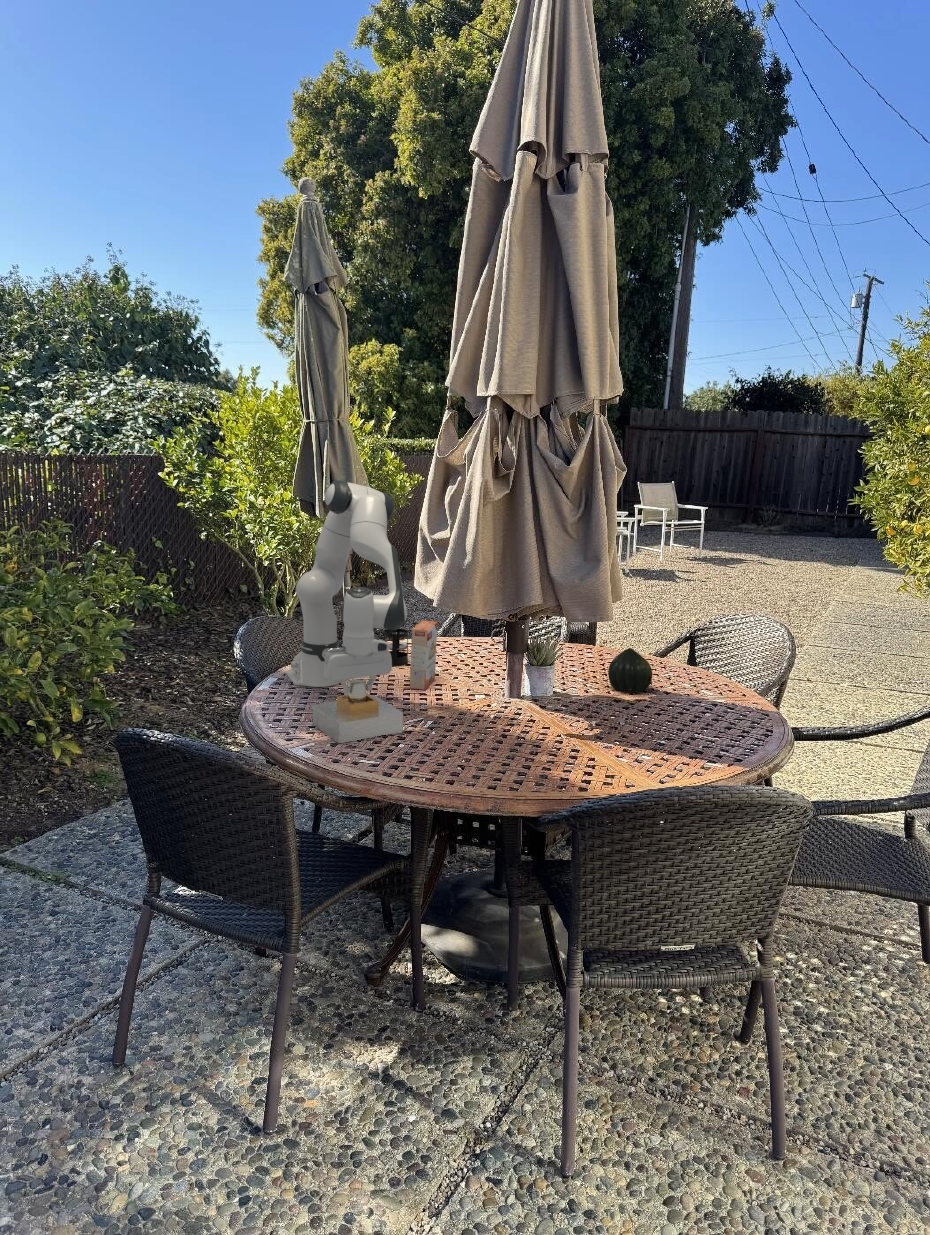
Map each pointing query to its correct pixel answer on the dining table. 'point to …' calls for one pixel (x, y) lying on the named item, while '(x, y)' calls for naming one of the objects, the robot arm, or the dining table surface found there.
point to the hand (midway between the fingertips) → (357, 691)
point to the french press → (397, 646)
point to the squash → (630, 672)
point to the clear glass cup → (357, 691)
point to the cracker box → (423, 655)
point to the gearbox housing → (357, 719)
